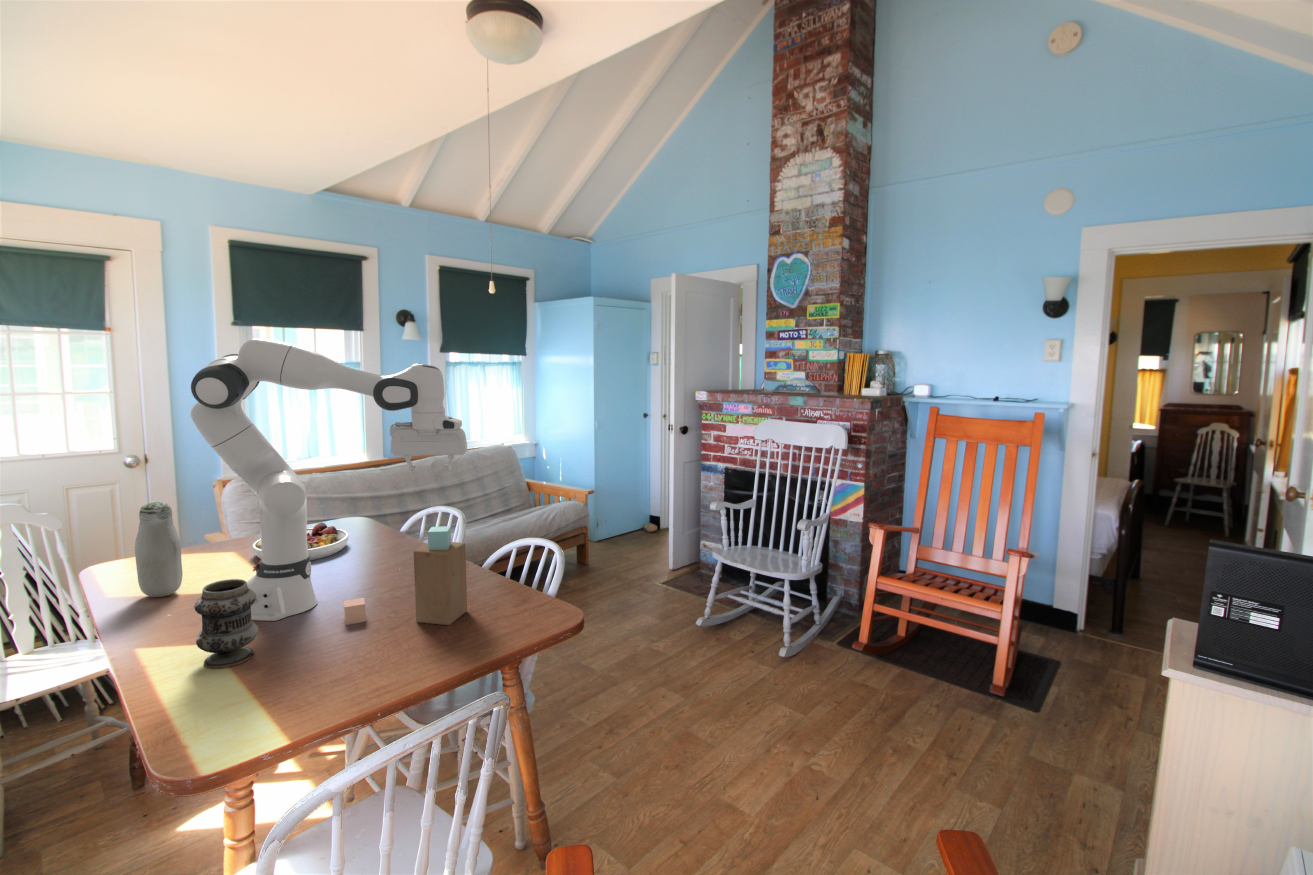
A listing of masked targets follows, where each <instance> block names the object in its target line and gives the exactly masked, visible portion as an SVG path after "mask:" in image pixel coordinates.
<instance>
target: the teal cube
mask: <svg viewBox="0 0 1313 875" xmlns="http://www.w3.org/2000/svg"><path fill="white" fill-rule="evenodd" d="M451 529H452V528H451V525H448V526H431V527H430V528H429V530H428V531H427V544H428V550H446V549H449V547H450V545H451V542H452V532H451V531H452V530H451Z"/></svg>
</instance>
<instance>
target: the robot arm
mask: <svg viewBox="0 0 1313 875" xmlns="http://www.w3.org/2000/svg"><path fill="white" fill-rule="evenodd" d="M260 382H267V383H273V384H275V385H279V386H283V387H288V388H290V389H291V388H292V389H298V390H306V391H307V390H308V391H313V390H314V391H315V390H326V389H338V390H345V391H350V392H354V393H358V394H362V395H364V396H365V395H366V396H369V397H373V401H374V402H375V403H376V404H377V406H378V407H379V408H381V409H383V410H385V411H388V412H399V411H401V410H405V409H410V410H411V412H410V413H411V421H410V422H409V421H407V422H405V421H404V422H400V421H399V422H398V421H396V422H395V423H393V424H391V425H390V427H389V435H390V437H391V438H390V454H391V455H392V456H395V457H396V456H397V457H398V456H399V457H400V456H401V457H402V456H404V460H405V462H406V464H407V466H408V469H409V472H416V471H417V464H414V463H413V462H412V460H411V459H412V456H448V463H444V465H443V467H444V472H445V471H447V472H450V471H451V470H452V469H451V468H452V467H451V466H452V463H453V462H454V459H455V456H462V455H463V456H464V455H465V454H466V453H467V452H468V443H467V442H468V440H467V437H466V433H465V430H464V429H463V428H462V426H463V421H462V420H461V419H459V418H455V417H453V416H448V415H446V410H445V409H446V408H445V406H444V399H445V382H444V377H443V373H442V371H441V370H440V368H438V366H437V367H436V366H435V365H434V366H433V365H430V364H423V363H413V364H411V366H409V367H407V368H405V369H404V370H401V371H399V372H396V373H395V374H394V373H393V374H387V375H382V374H375V373H371V372H368V371H363V370H359V369H355V368H352V367H348V366H346V365H344V364H341V363H338V362H337V361H335V360H333V359H330V358H328V357H327V356H324V355H322V354H320V353H318V352H316V351H313V350H311V349H308V348H305V347H303V346H300V345H298V344H297V345H296V344H293V343H289V342H285V341H280V340H275V339H270V338H269V339H268V338H260V337H253V338H250V339H247V340H246V341H245V342H244V343H243V344H242V345H241V347H240V349H239V351H238V353H232V354H226V355H224V356H223V357H220V358H218V359H215V360H213V361H211V362H210V363H209V364H208V365H206V366H205V367H204V368H201V369H200V370H199V371H198V372H196V374H194V377H193V378H192V381H191V384H190V392H191V394H192V396H193V398H194V399H195V400H196V401H197V402H196V403H195V404H194V405H193V407H192V408H191V411H190V417H191V420H192V421H193V423H194V425H195V426H196V427H195V428H196V429H197V430H198V432H199V433H200V434H201V435H202V437H203V439H205V441H206V442H207V443H208V445H209V446H210V447H211V448H212V450H213V451H215V453H216V454H217V455H218V456H219V457H220V458H221V460H222V461H223V462H224V463H225V464H226V465H227V466H228V468H230V470H231V471H232V472H233V473H234V474H235V475H236V476H237V477H239V479H241V480H242V482H243V483H244V484H246V486H247V487H248V488H249V489H250V490H251V491H252V492H253V493H254V494H255V495H256V497H257V499H258V504H259V506H258V507H259V523H260V529H259V530H260V539H261V548H262V559H260V560H259V562H257V563H256V564H255V566H253V567H252V569H253V570H252V572H255V575H254V576H253V577H251V578H250V579H248V581H246V582H247V586H248V588H249V589H251V590H253V591H254V592H255V594H256V600H255V602H254V604H253V605H252V606H251V619H252V621H266V622H267V621H268V622H269V621H272V622H275V621H279V620H281V619H285V618H287V617H290V616H293V615H297V614H301V613H304V612H306V611H308V610H311V609H313V608H314V607H316V605H317V604H318V603H319V602H318V599H317V597H316V594H315V592H314V591H315V590H314V588H313V583H312V580H311V578H312V577H311V575H312V563H311V560H310V556H309V555H308V545H307V529H308V526H307V524H308V500H307V499H308V496H307V494H308V493H307V488H306V487H305V484H304V483H303V482H302V480H301V478H300V477H299V476H298V474H297V473H296V472H295V471H294V470H293V468H292V467H290V465H289V464H288V463H287V462H286V460H285V459H284V458H283V457H282V456H281V455H280V454H279V452H278V451H277V450H276V449H275V448H274V446H273V445H272V443H270V442H269V440H268V439H267V438H266V437H265V435H263V433H262V432H261V431H260V430H259V429H258V428H257V426H256V425H255V423H254V422H253V421H252V420H251V419H250V418H249V417H248V415H247V414H246V413H245V412H244V410H243V407H242V400H243V401H244V400H245V399H246V398H248V397H249V396H250V395H251V394H252V392H253V391H254V390H255V389H256V388H257V387H258V386H259V384H260Z"/></svg>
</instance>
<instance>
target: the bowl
mask: <svg viewBox="0 0 1313 875" xmlns="http://www.w3.org/2000/svg"><path fill="white" fill-rule="evenodd" d="M348 541H349V533H348V532H347V531H346V530H342V529H340V528H339V529H338V528H336V527H335V526H333V525H329V526H328V525H327V524H326V523H325V522H319V523H318V522H317V523H316V525H314V526H313V527H312V528H311V527H310V528H307V545H308V555H309V556H310V561H314V560H318V559H322V558H323V559H324V558H326V557H329V556H332V555H334V554H336V553H338V552H340V551H342V550H343V549H344V548H345V547H346V545H347V544H348ZM252 550H253V553H254V555H255V556H256V557H257V558H258V559H260V560H261V559H262V548H261V538H260V539H257V540H256V541H254V542H253V544H252Z"/></svg>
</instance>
